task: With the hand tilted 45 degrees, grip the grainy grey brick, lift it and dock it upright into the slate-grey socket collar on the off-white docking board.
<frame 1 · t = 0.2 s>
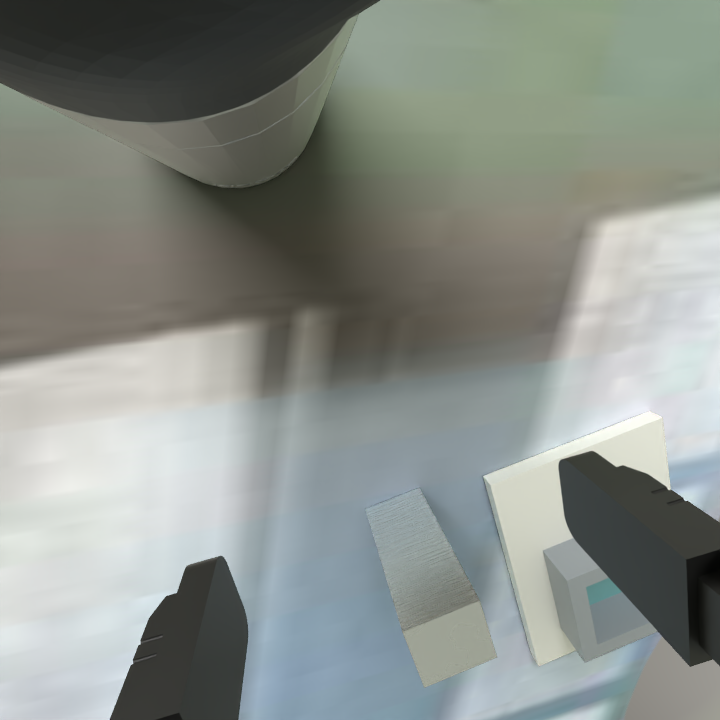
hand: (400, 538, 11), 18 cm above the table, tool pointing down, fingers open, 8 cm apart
grainy grey brick: (400, 520, 32), on the table
docking board: (586, 540, 36), on the table
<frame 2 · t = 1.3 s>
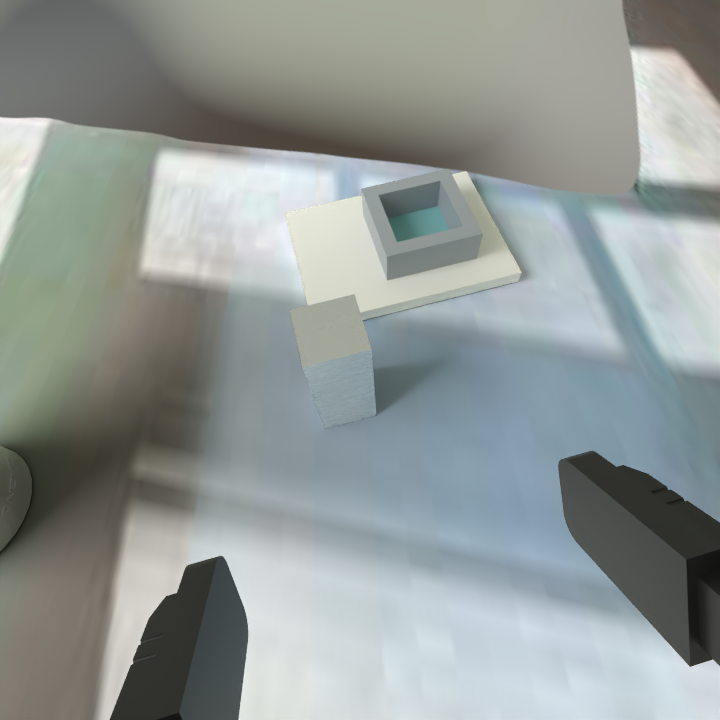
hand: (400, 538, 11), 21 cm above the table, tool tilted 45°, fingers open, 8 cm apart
grainy grey brick: (344, 398, 35), on the table
docking board: (396, 250, 42), on the table
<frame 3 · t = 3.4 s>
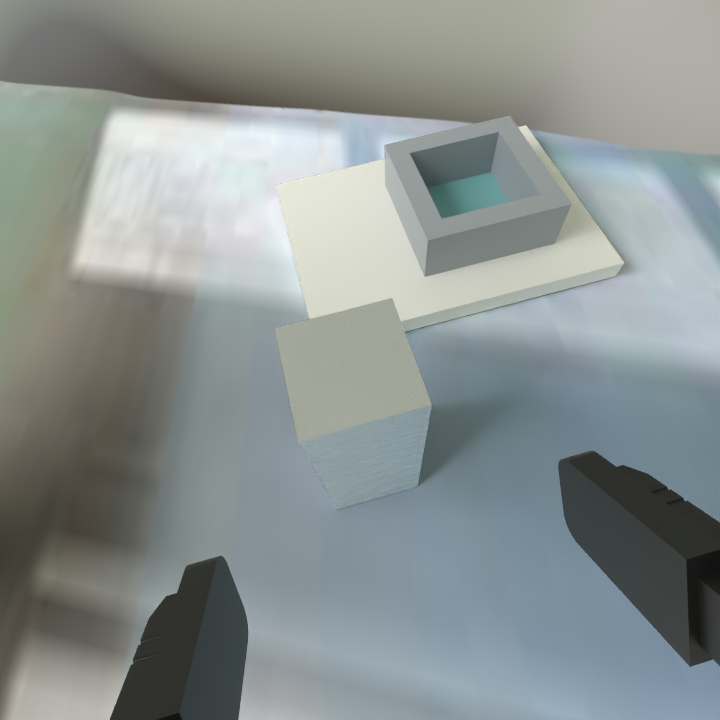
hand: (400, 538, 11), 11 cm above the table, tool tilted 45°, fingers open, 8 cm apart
grainy grey brick: (366, 458, 23), on the table
docking board: (433, 234, 30), on the table
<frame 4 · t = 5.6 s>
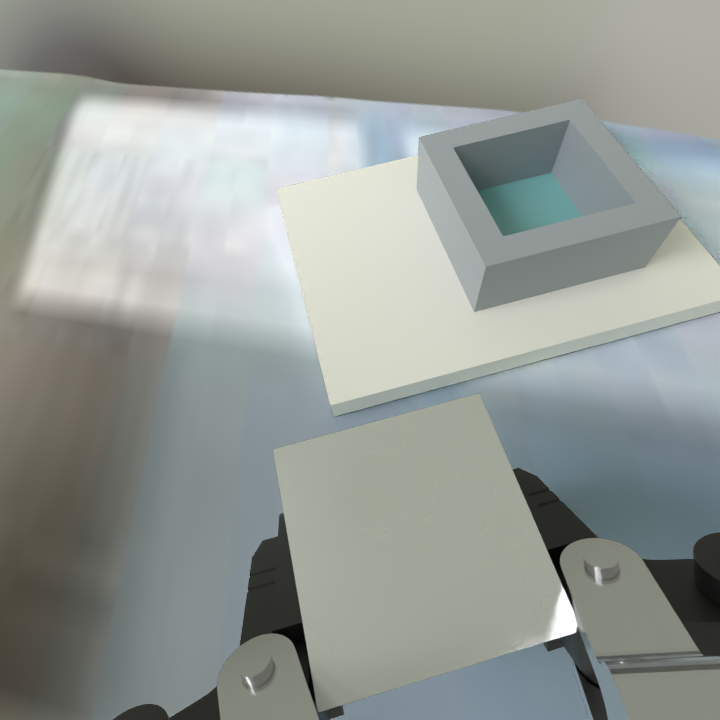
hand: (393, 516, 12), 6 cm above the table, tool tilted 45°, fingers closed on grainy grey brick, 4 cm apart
grainy grey brick: (403, 574, 16), on the table, touching gripper
docking board: (478, 252, 23), on the table
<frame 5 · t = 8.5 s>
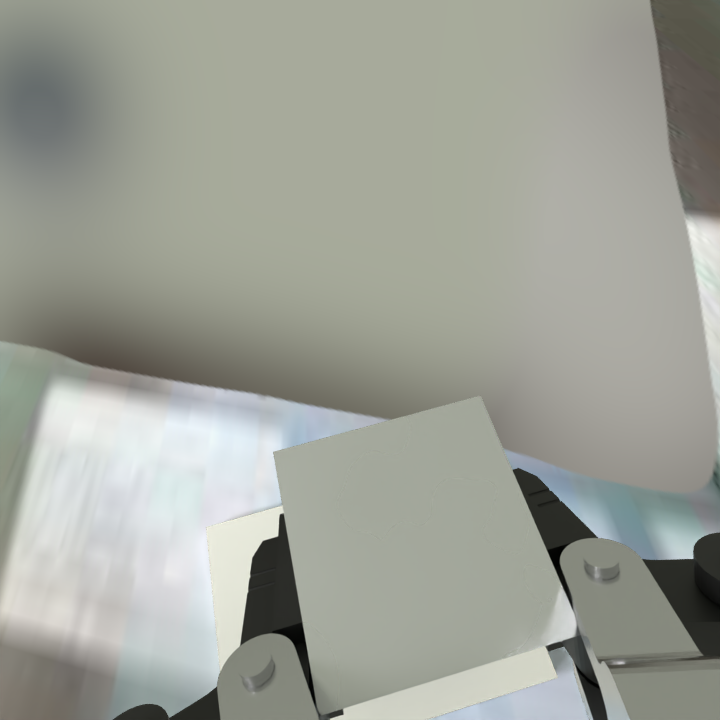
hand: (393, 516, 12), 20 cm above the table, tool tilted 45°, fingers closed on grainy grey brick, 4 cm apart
grainy grey brick: (403, 575, 16), point 14 cm above the table, touching gripper
docking board: (367, 596, 29), on the table
when the fingers open (8 cm above the table, at t = 11.6 s): grainy grey brick stays where it is, resting on docking board.
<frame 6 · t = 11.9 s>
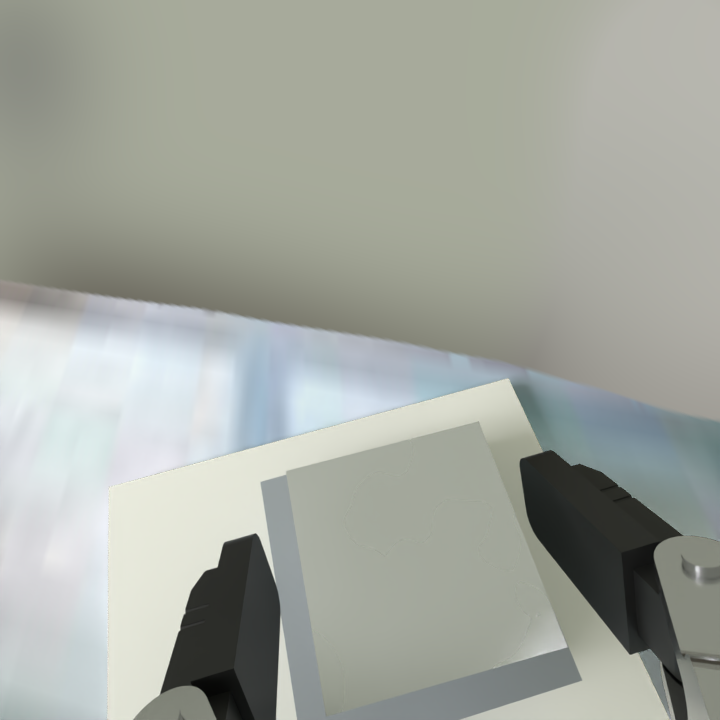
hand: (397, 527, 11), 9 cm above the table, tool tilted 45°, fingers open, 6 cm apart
grainy grey brick: (404, 581, 17), point 1 cm above the table, touching docking board
docking board: (352, 592, 18), on the table
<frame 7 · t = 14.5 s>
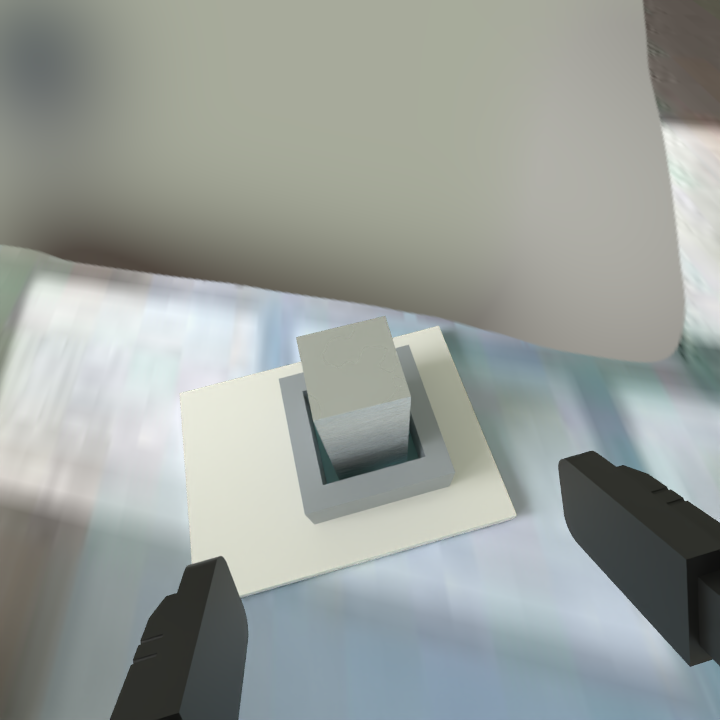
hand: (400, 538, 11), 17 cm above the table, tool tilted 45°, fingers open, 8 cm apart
grainy grey brick: (365, 442, 28), point 1 cm above the table, touching docking board
docking board: (335, 454, 29), on the table
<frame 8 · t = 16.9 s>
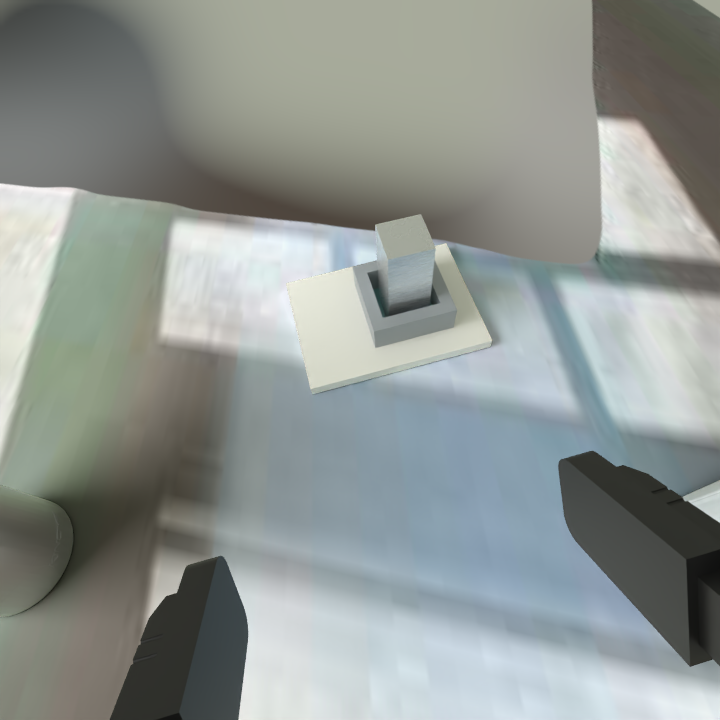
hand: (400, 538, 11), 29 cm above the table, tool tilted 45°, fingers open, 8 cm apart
grainy grey brick: (403, 306, 47), point 1 cm above the table, touching docking board
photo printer: (714, 515, 37), on the table
docking board: (383, 317, 48), on the table
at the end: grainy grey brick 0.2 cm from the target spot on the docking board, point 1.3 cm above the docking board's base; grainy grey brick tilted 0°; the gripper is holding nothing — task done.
